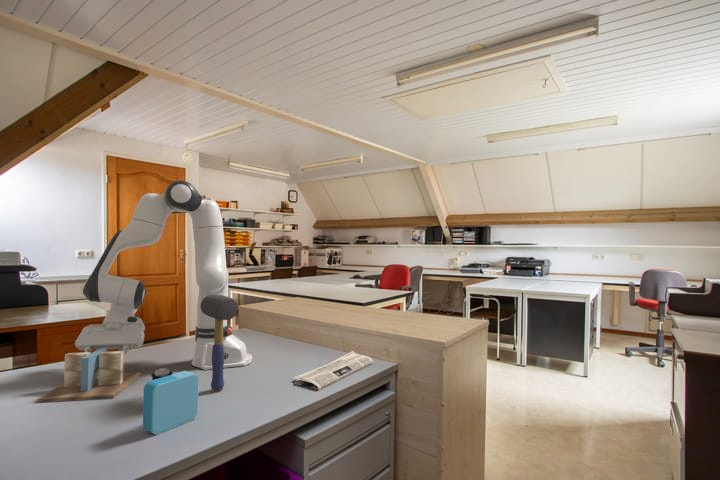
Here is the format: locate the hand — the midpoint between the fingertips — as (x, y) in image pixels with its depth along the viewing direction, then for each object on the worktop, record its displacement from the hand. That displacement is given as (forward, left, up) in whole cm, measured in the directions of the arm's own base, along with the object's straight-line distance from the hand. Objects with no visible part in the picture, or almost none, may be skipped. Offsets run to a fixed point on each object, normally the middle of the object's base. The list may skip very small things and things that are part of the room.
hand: (103, 359), depth 124 cm
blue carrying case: (-32, +35, -8) cm, 48 cm away
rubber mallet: (-39, +13, -8) cm, 42 cm away
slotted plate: (0, +5, -6) cm, 8 cm away
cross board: (0, +5, -7) cm, 9 cm away
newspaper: (-78, +1, -8) cm, 78 cm away
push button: (-26, +23, -8) cm, 36 cm away
